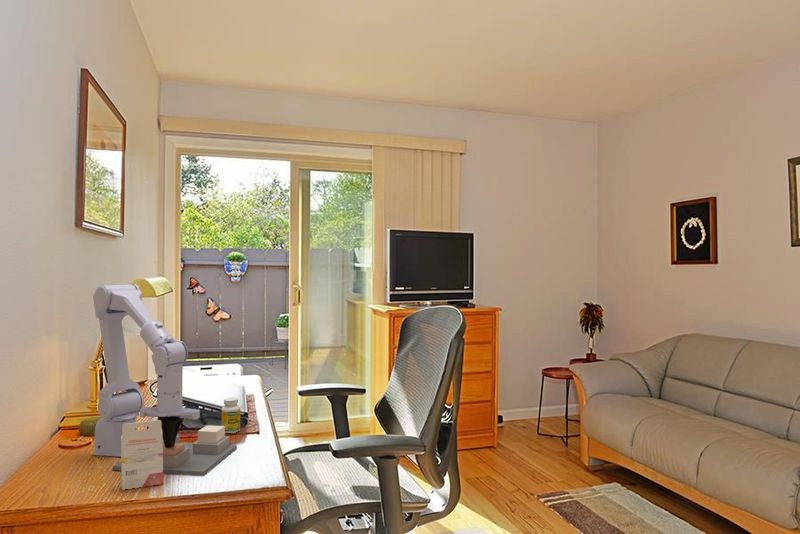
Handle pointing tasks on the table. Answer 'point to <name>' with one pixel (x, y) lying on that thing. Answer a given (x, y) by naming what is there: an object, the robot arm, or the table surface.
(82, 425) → the sculpture
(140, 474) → the ink cartridge box
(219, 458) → the board
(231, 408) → the supplement bottle
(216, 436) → the cream button
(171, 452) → the terracotta button
